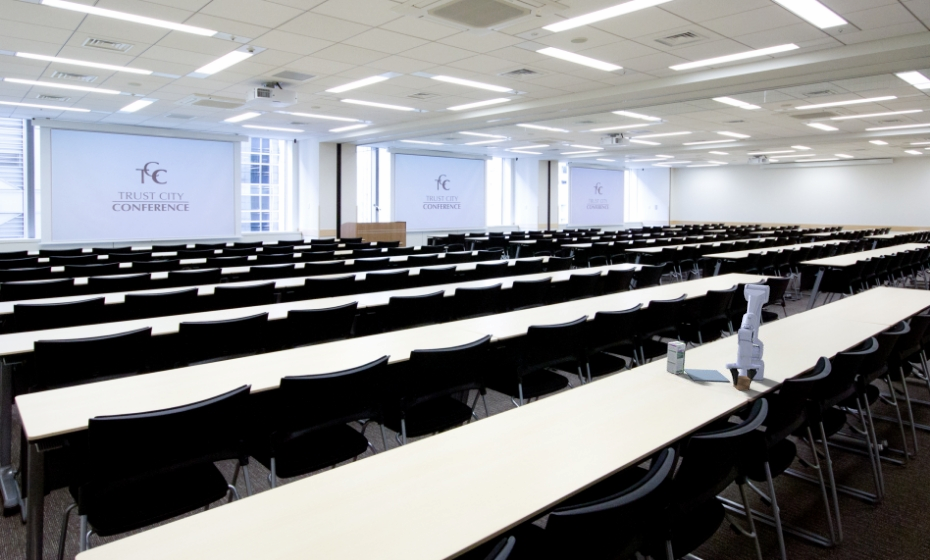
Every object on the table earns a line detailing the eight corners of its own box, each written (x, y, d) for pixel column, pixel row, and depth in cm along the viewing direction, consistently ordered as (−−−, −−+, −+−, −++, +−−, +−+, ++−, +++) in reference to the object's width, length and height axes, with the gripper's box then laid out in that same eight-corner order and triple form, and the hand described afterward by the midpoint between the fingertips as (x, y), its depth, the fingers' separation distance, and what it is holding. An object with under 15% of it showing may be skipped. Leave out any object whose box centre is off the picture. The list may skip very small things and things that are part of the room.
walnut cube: (744, 386, 260) (745, 375, 259) (749, 390, 255) (750, 379, 254) (733, 386, 260) (734, 375, 259) (737, 389, 255) (738, 378, 255)
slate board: (716, 371, 281) (716, 370, 281) (729, 382, 266) (729, 380, 266) (682, 370, 282) (683, 368, 282) (693, 380, 267) (693, 379, 266)
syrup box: (675, 374, 275) (677, 344, 273) (665, 371, 280) (668, 341, 278) (684, 373, 277) (686, 343, 275) (674, 369, 283) (676, 340, 280)
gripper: (731, 357, 252) (728, 387, 254) (765, 358, 251) (762, 388, 253) (724, 352, 259) (722, 382, 261) (758, 354, 258) (755, 383, 260)
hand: (741, 385), depth 257 cm, fingers closed on walnut cube, 5 cm apart
